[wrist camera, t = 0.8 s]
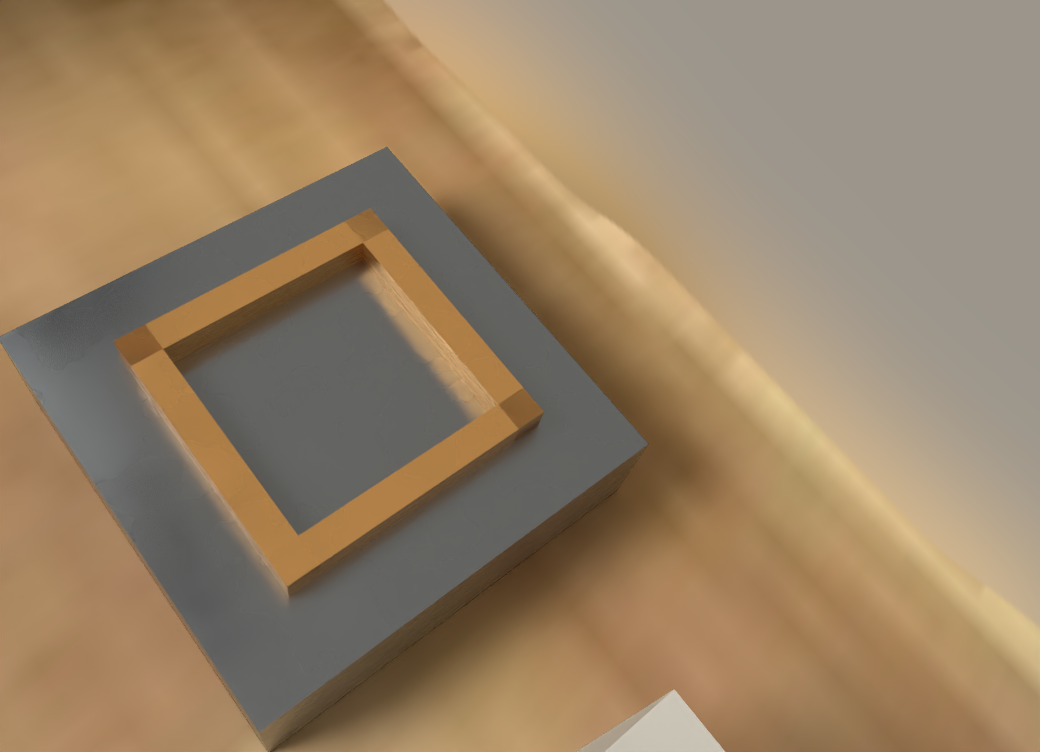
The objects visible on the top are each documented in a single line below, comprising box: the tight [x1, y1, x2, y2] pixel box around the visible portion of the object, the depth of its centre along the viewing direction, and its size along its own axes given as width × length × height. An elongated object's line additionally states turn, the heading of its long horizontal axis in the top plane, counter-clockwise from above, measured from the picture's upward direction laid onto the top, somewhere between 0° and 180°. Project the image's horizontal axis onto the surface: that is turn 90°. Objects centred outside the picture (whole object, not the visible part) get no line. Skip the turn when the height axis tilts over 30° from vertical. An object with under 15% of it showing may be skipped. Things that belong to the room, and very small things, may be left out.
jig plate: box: [0, 147, 648, 752], centre depth 31 cm, size 14×14×5 cm
